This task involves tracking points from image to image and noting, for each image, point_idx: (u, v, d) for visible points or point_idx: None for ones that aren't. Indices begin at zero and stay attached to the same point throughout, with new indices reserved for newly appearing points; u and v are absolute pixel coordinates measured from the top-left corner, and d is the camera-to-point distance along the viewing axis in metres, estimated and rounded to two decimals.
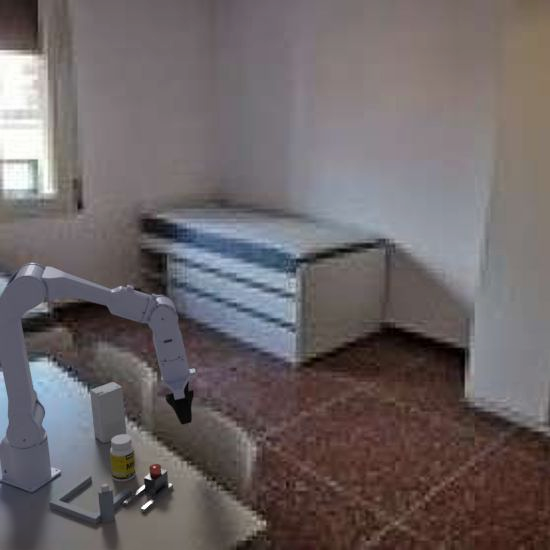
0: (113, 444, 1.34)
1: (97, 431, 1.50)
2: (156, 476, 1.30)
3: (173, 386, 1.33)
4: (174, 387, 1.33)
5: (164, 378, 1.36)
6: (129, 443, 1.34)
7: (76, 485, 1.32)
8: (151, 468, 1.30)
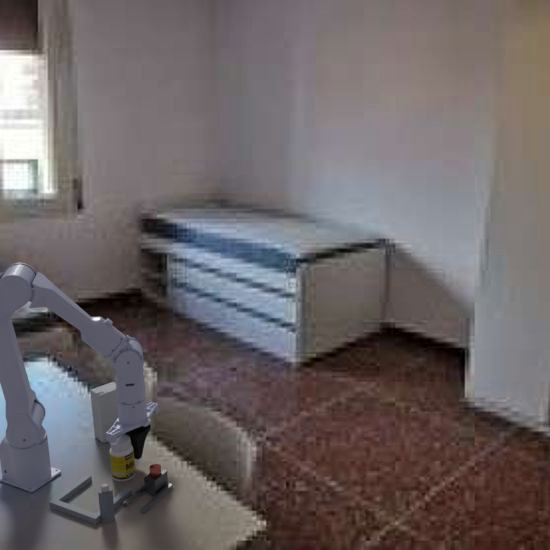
0: (112, 445, 1.33)
1: (97, 431, 1.50)
2: (156, 476, 1.30)
3: (114, 428, 1.34)
4: (114, 429, 1.34)
5: None
6: (128, 443, 1.34)
7: (76, 485, 1.32)
8: (151, 468, 1.30)
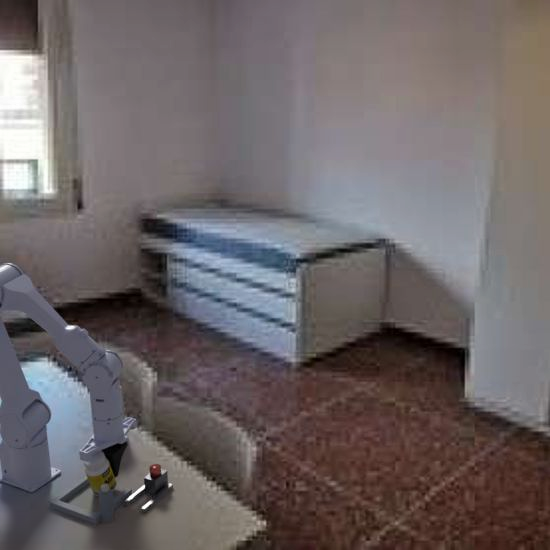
0: (86, 465, 1.27)
1: None
2: (156, 476, 1.30)
3: (89, 445, 1.28)
4: (89, 447, 1.27)
5: None
6: (103, 461, 1.27)
7: (76, 485, 1.32)
8: (151, 468, 1.30)
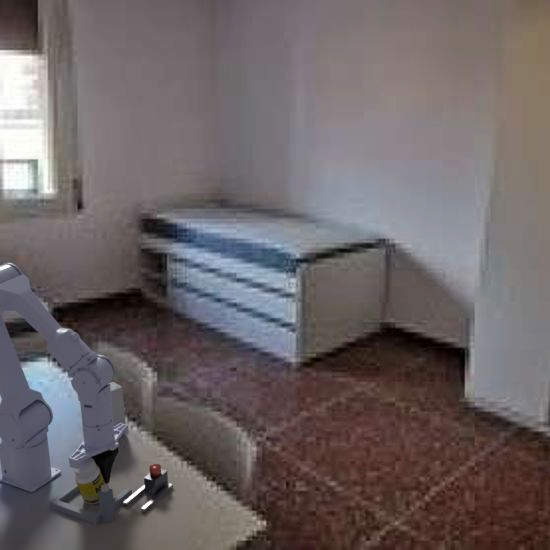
0: (76, 473, 1.24)
1: None
2: (156, 476, 1.30)
3: (79, 452, 1.25)
4: (79, 453, 1.25)
5: None
6: (93, 468, 1.25)
7: (76, 485, 1.32)
8: (151, 468, 1.30)
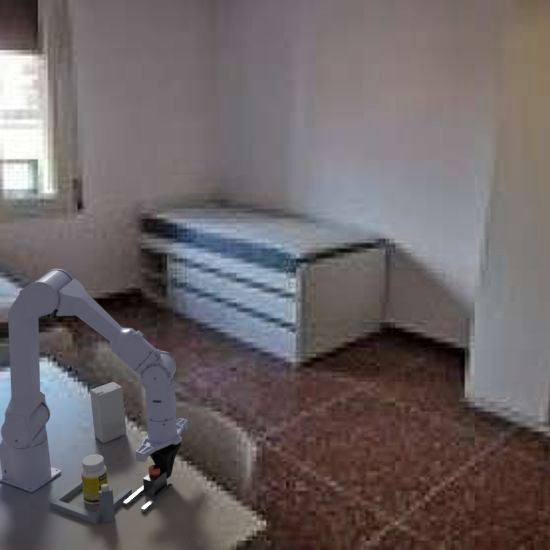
0: (85, 466, 1.26)
1: (97, 431, 1.50)
2: (155, 477, 1.30)
3: (144, 446, 1.28)
4: (144, 447, 1.28)
5: None
6: (102, 464, 1.27)
7: (76, 485, 1.32)
8: (150, 469, 1.30)
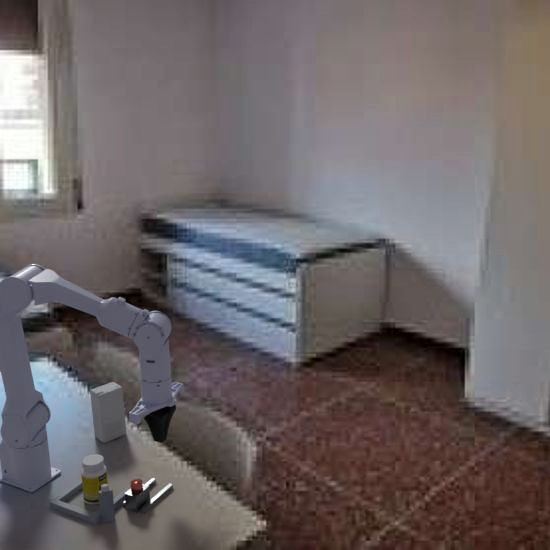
0: (85, 466, 1.26)
1: (97, 431, 1.50)
2: (137, 492, 1.25)
3: (138, 408, 1.25)
4: (138, 409, 1.25)
5: (142, 396, 1.28)
6: (102, 463, 1.27)
7: (76, 485, 1.32)
8: (132, 483, 1.26)
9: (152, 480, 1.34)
